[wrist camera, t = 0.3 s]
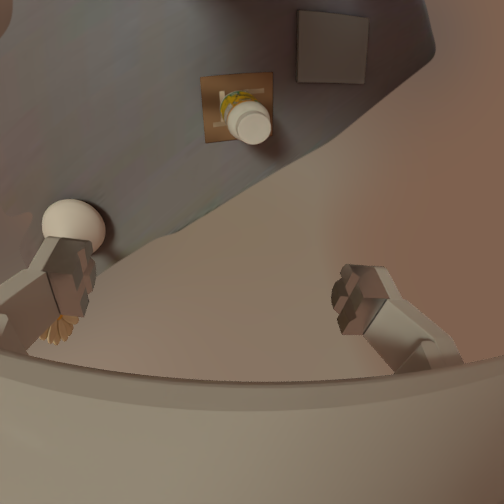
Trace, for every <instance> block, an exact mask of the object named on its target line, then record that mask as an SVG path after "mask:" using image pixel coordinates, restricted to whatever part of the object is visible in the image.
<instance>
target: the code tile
mask: <svg viewBox="0 0 504 504" xmlns="http://www.w3.org/2000/svg"><path fill="white" fill-rule="evenodd" d="M200 82H201V95H202V107H203V120H204V131H205V142H206V143H210V142H217V141H226V140H234V139H236V138H235V137H234V136H233V135H232V134H231V133H230V131H229V130H228V128H227V126H226V124H225V122H224V120H223V119H222V116H221V114H220V104H221V102H222V100H223V98H224V97H225V96H226V95H228V94H229V93H231V92H234V91H240V90H241V91H246V92H248V93H250V94H252V95H253V96H254V97H255V98H256V99H257V100H258V101H259V102H260V103H261V104H262V105H263V106H264V107H265V108H266V109H267V111H268V113H269V116H270V123H271V132H270V135H269V136H272V118H273V72H261V73H243V74H229V75H218V76H208V77H200Z"/></svg>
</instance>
